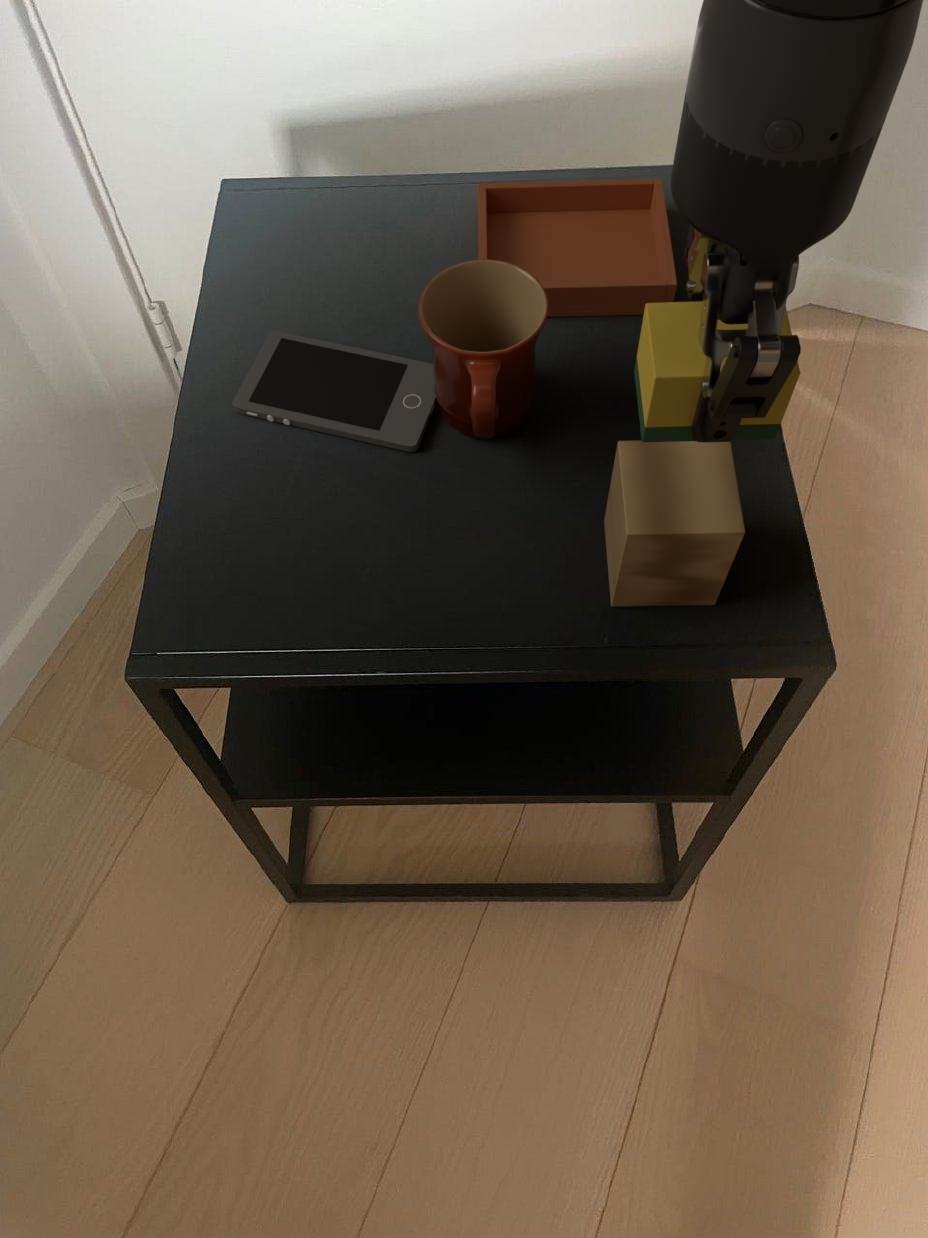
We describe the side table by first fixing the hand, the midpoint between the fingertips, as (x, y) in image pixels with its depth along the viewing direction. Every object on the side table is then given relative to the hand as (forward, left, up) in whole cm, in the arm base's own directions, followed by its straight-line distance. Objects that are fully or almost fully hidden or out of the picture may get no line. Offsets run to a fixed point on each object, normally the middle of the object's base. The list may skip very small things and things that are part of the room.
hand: (705, 393), depth 51 cm
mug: (+14, -10, -17) cm, 24 cm away
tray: (+10, -28, -17) cm, 34 cm away
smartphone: (+26, -11, -17) cm, 33 cm away
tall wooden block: (0, 0, -17) cm, 17 cm away
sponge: (0, 0, -1) cm, 1 cm away
